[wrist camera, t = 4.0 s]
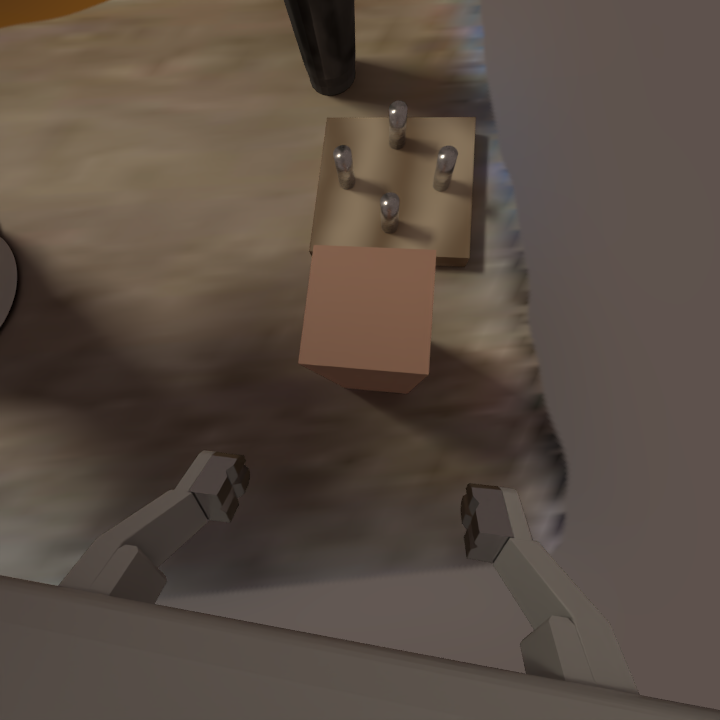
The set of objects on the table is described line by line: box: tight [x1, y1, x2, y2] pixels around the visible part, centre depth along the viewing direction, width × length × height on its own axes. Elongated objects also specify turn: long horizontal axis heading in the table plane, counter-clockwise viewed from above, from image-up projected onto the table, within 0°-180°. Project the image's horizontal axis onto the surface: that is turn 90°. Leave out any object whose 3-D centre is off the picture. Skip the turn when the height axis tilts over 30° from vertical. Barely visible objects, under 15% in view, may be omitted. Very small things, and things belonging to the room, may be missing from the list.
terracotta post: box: [298, 245, 436, 394], centre depth 18 cm, size 5×5×13 cm
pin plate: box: [309, 101, 476, 267], centre depth 25 cm, size 13×13×4 cm
